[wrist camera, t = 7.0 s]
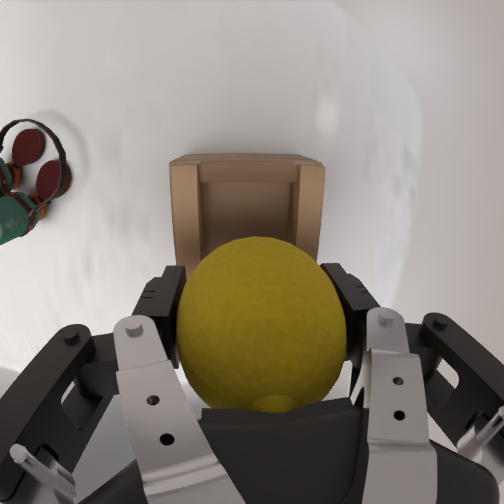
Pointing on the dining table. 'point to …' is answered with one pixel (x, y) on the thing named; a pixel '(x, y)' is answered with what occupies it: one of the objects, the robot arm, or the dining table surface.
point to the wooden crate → (244, 202)
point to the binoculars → (47, 184)
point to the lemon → (260, 327)
